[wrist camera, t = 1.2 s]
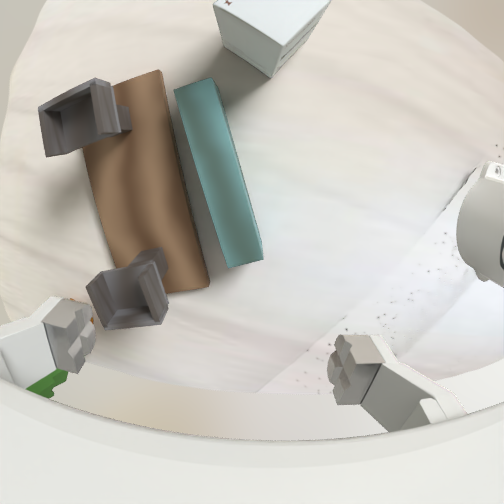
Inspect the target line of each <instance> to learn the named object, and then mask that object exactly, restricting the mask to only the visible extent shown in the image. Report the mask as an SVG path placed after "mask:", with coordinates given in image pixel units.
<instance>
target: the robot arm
mask: <svg viewBox="0 0 504 504" xmlns="http://www.w3.org/2000/svg"><path fill="white" fill-rule="evenodd" d="M495 170H496V171H495ZM456 237H457V246H458V250H459V253H460V255H461V257H462V259H463V260H464V262H465V263H466V264H468V265H469V266H470V267H472V268H473V269H474V270H475V272H476V274H477V277H478V278H479V279H480V280H481V281H483V282H485V281H487V280H489V279H490V280H491V281H493V282H495V283H496V284H498V285H500V286H501V287H503V288H504V165H503V164H499V163H496V162H492V161H487V162H486V163H485V165H484V167H483V169H482V172H481V175H480V177H479V179H478V180H477V182H476V183H475V184H474V185H473V186H472V188H471V189H470V190H469V192H468V193H467V195H466V197H465V199H464V201H463V203H462V206H461V209H460V212H459V216H458V221H457V231H456ZM92 316H93V313H92V307H91V306H90V305H89V304H87V303H82V302H78V301H74V300H70V299H66V298H62V297H57V296H50V297H49V298H48V299H47V300H46V301H45V302H44V303H43V304H42V305H41V306H40V307H39V308H38V309H37V310H36V311H35V312H34V313H33V314H32V315H31V316H30V317H29V318H26V317H24V318H21V319H18V320H15V321H13V322H10V323H7V324H4V325H1V326H0V504H504V402H502V403H499V404H496V405H494V406H491V407H488V408H485V409H482V410H479V411H476V412H473V413H470V414H467V412H466V411H465V409H464V408H463V406H462V405H461V403H460V402H459V400H458V399H457V397H456V396H455V394H454V393H453V392H451V391H450V390H447V389H446V388H444V387H443V386H441V385H439V384H438V383H436V382H434V381H433V380H431V379H429V378H428V377H426V376H424V375H423V374H421V373H419V372H417V371H416V370H414V369H412V368H411V367H409V366H407V365H406V364H404V363H399V362H398V360H397V359H396V357H395V356H394V354H393V353H392V351H391V349H390V348H389V346H388V345H387V343H386V342H385V340H384V339H383V337H382V336H381V335H379V334H377V335H339V336H338V337H337V338H336V341H335V344H334V345H335V348H336V351H335V352H333V353H332V354H331V355H330V358H329V361H328V367H327V374H328V378H329V381H330V382H331V383H332V384H333V385H335V386H334V389H333V394H334V396H335V399H336V402H337V405H356V404H361V406H362V407H363V408H364V409H365V410H366V411H367V412H368V413H369V414H370V415H371V416H372V417H373V418H374V419H376V421H378V422H379V423H380V424H381V425H382V426H383V427H384V428H385V429H386V430H387V431H388V433H381V434H374V435H367V436H359V437H350V438H338V439H324V440H299V441H269V440H268V441H267V440H243V439H229V438H218V437H207V436H199V435H191V434H184V433H178V432H171V431H165V430H160V429H154V428H149V427H144V426H140V425H135V424H130V423H126V422H122V421H118V420H114V419H110V418H107V417H103V416H99V415H96V414H92V413H89V412H85V411H83V410H79V409H76V408H73V407H70V406H67V405H64V404H62V403H59V402H56V401H53V400H50V399H48V398H45V397H43V396H40V395H38V394H35V393H33V392H30V391H28V390H26V388H28V387H29V386H31V385H32V384H34V383H36V382H37V381H39V380H40V379H42V378H43V377H45V376H47V375H48V374H50V373H51V372H53V371H55V370H56V368H58V369H61V370H65V371H68V372H72V373H76V374H78V373H79V371H80V369H81V368H82V366H83V364H84V363H85V358H84V356H85V355H87V354H89V353H91V351H92V349H93V347H94V343H95V337H96V332H95V327H94V325H93V324H92V323H91V321H90V319H91V318H92Z"/></svg>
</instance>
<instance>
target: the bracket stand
mask: <svg viewBox="0 0 504 504" xmlns="http://www.w3.org/2000/svg"><path fill="white" fill-rule="evenodd" d="M38 112H39V119H40V126H41V132H42V138H43V144H44V149H45V155H46V157H52V156H58V155H64V154H68V153H70V152H72V151H75V150H77V149H79V148H83V153H84V158H85V162H86V167H87V171H88V175H89V179H90V183H91V187H92V191H93V195H94V199H95V202H96V206H97V209H98V213H99V216H100V220H101V223H102V226H103V230H104V233H105V236H106V239H107V242H108V245H109V248H110V251H111V254H112V257H113V260H114V263H115V266H116V269H112V270H107V271H102V272H100V273H99V274H98V275H97V276H96V277H95V278H94V279H93V280H92V281H91V282H90V283H89V284H88V285H87V286H86V289H87V292H88V294H89V296H90V299H91V301H92V303H93V306H94V308H95V310H96V312H97V315H98V317H99V319H100V321H101V323H102V325H103V327H104V329H105V330H113V329H123V328H133V327H143V326H152V325H161V324H162V322H163V320H164V317H165V315H166V313H167V311H168V304H169V302H168V299H167V296H166V294H167V293H174V292H180V291H186V290H193V289H199V288H205V287H209V284H210V280H209V276H208V273H207V269H206V265H205V262H204V258H203V254H202V250H201V246H200V243H199V239H198V235H197V231H196V227H195V223H194V219H193V215H192V211H191V207H190V203H189V199H188V194H187V190H186V186H185V182H184V177H183V173H182V169H181V164H180V160H179V155H178V151H177V146H176V141H175V137H174V132H173V127H172V122H171V117H170V112H169V107H168V102H167V97H166V92H165V86H164V81H163V76H162V72H161V71H160V70H155V71H152V72H149V73H146V74H143V75H140V76H138V77H135V78H132V79H129V80H127V81H124V82H121V83H119V84H116V85H114V86H110V83H109V82H106V81H103V80H100V79H97V78H93V79H91V80H89V81H87V82H85V83H83V84H81V85H79V86H76V87H74V88H72V89H70V90H69V91H67V92H65V93H63V94H61V95H59V96H57V97H55V98H53V99H52V100H50V101H48V102H46V103H45V104H43V105H41V106H39V107H38Z"/></svg>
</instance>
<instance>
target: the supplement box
mask: <svg viewBox="0 0 504 504" xmlns="http://www.w3.org/2000/svg"><path fill="white" fill-rule="evenodd" d="M331 1H332V0H217V1H216V2H214V3H213V8H214V12H215V16H216V19H217V23H218V26H219V30H220V33H221V37H222V41H223V45H224V47H225V48H227V49H229V50H230V51H232V52H233V53H235V54H236V55H238V56H239V57H241V58H242V59H244V60H245V61H247V62H248V63H250V64H251V65H253V66H254V67H256V68H257V69H258V70H260V71H261V72H263V73H264V74H265V75H267V76H268V77H269V78H272V77H273V76H274V75H275V73H276V72H277V71H278V70H279V69H280V67H281V66H282V65H283V64H284V63H285V62H286V61H287V60H288V59H289V58H290V57H291V56H292V55H293V54H294V52H295V51H296V50H297V49H298V48H299V47H300V46H301V45H302V44H304V43H305V42H306V41H307V39H308V38H309V36H310V35H311V33H312V31H313V30H314V28H315V27H316V25H317V23H318V22H319V20H320V19H321V17H322V15H323V13H324V12H325V10H326V9H327V7H328V5H329V4H330V2H331Z"/></svg>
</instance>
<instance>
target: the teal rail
mask: <svg viewBox="0 0 504 504" xmlns="http://www.w3.org/2000/svg"><path fill="white" fill-rule="evenodd" d="M174 94H175V97H176V101H177V104H178V108H179V111H180V115H181V118H182V122H183V125H184V128H185V132H186V135H187V139H188V142H189V145H190V149H191V152H192V155H193V159H194V162H195V165H196V169H197V172H198V175H199V179H200V182H201V185H202V188H203V192H204V195H205V198H206V201H207V204H208V208H209V211H210V214H211V217H212V220H213V223H214V227H215V230H216V233H217V236H218V239H219V242H220V245H221V248H222V251H223V254H224V258H225V261H226V264H227V267H228V268H232V267H236V266H240V265H244V264H248V263H252V262H256V261H260V260H263V250H262V241H261V238H260V234H259V231H258V227H257V223H256V220H255V216H254V213H253V209H252V205H251V202H250V198H249V195H248V191H247V188H246V184H245V180H244V177H243V173H242V170H241V166H240V163H239V159H238V156H237V152H236V149H235V145H234V142H233V138H232V135H231V131H230V128H229V125H228V121H227V118H226V114H225V111H224V107H223V104H222V100H221V97H220V94H219V90H218V87H217V85H216V84H215V82H214V81H213V79H212V77H211V78H208V79H204V80H201V81H198V82H195V83H192V84H189V85H186V86H183V87H180V88H177V89H175V90H174Z"/></svg>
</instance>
